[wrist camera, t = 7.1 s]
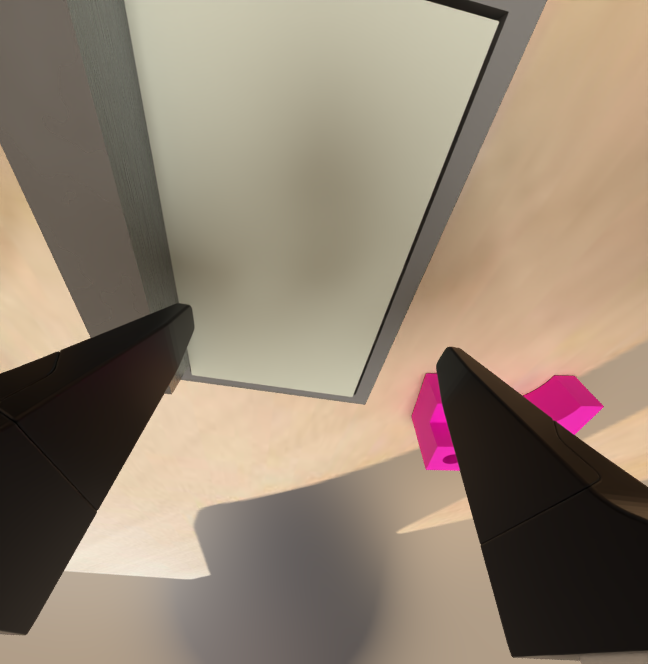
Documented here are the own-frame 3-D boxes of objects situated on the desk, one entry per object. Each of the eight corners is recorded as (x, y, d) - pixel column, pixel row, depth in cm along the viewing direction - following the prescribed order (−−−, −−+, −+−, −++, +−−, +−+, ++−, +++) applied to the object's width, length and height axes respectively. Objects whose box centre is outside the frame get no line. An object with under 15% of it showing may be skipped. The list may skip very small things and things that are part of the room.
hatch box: (471, 30, 13) (560, -30, 8) (358, 349, 26) (365, 404, 21) (170, -53, 12) (45, -192, 7) (209, 326, 24) (177, 379, 19)
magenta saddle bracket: (425, 469, 27) (446, 427, 22) (411, 416, 32) (426, 373, 27) (575, 473, 27) (628, 431, 22) (538, 419, 32) (574, 375, 27)
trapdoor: (490, 27, 9) (553, -13, 6) (351, 390, 20) (354, 428, 17) (-3, -112, 7) (-177, -235, 5) (147, 362, 18) (119, 398, 16)
